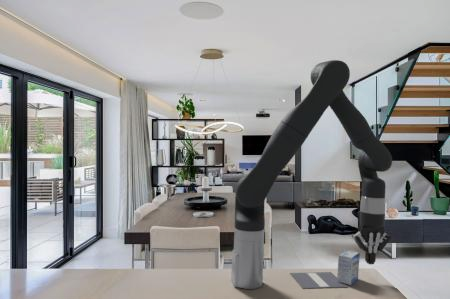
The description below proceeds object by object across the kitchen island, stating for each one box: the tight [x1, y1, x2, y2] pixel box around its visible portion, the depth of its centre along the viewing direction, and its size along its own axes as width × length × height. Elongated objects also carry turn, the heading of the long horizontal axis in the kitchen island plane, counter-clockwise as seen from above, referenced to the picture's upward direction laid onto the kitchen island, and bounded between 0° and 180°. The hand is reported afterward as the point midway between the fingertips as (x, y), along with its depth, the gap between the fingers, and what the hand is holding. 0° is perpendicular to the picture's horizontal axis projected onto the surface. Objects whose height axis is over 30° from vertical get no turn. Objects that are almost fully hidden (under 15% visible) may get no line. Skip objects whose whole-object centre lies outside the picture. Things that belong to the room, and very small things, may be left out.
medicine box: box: [336, 249, 360, 286], centre depth 113 cm, size 8×4×9 cm, turn 143°
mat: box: [289, 271, 349, 290], centre depth 113 cm, size 14×12×1 cm
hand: (370, 263), depth 114 cm, fingers closed
